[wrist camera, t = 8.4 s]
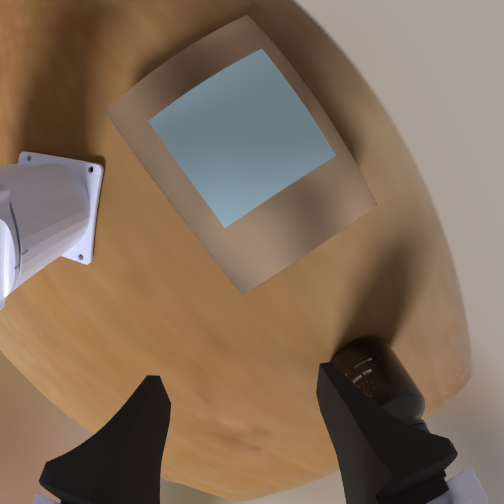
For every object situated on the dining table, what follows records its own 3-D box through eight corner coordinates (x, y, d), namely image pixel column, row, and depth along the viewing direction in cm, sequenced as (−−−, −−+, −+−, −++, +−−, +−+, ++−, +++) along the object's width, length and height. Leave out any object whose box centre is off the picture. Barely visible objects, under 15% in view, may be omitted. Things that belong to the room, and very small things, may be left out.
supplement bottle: (337, 335, 23) (391, 440, 12) (396, 332, 24) (459, 415, 13) (319, 386, 25) (352, 482, 14) (374, 380, 26) (417, 461, 15)
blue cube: (228, 205, 15) (224, 228, 10) (175, 132, 13) (147, 121, 9) (304, 155, 14) (336, 155, 9) (253, 82, 13) (261, 48, 8)
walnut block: (240, 269, 20) (242, 295, 17) (128, 118, 16) (104, 111, 12) (352, 195, 19) (377, 204, 15) (245, 39, 15) (247, 14, 11)
